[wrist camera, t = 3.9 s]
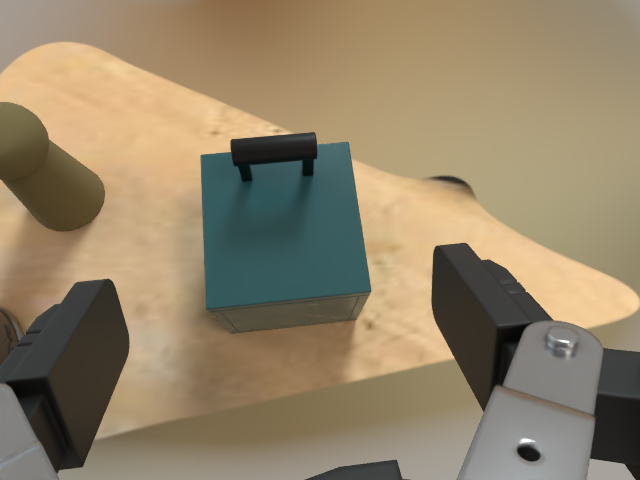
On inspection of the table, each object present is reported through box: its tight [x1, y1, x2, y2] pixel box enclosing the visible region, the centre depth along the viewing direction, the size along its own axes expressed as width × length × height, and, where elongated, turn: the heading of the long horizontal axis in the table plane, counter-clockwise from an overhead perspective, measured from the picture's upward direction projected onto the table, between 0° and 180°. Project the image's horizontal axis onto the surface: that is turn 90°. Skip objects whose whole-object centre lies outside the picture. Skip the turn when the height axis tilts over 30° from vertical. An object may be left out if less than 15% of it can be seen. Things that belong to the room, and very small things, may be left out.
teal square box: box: [210, 294, 370, 334], centre depth 36 cm, size 10×10×9 cm
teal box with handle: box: [201, 132, 371, 312], centre depth 29 cm, size 10×10×5 cm
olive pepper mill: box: [0, 102, 105, 231], centre depth 36 cm, size 6×6×11 cm
